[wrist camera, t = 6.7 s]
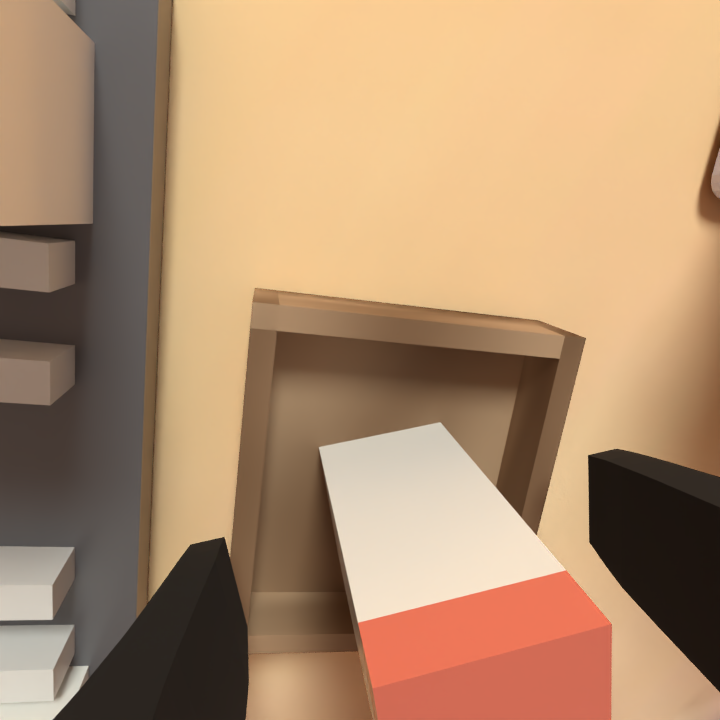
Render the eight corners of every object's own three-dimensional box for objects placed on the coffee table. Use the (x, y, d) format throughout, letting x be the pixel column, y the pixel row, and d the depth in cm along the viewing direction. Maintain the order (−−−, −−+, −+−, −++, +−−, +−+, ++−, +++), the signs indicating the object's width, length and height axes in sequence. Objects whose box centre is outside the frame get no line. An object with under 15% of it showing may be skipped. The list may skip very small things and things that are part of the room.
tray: (538, 320, 13) (585, 338, 11) (477, 591, 15) (508, 646, 13) (255, 287, 11) (252, 301, 9) (228, 592, 13) (222, 654, 11)
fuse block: (172, -13, 10) (143, -85, 7) (140, 760, 14) (116, 863, 12) (-137, -83, 9) (-282, -191, 6) (-64, 773, 13) (-133, 888, 11)
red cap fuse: (440, 422, 12) (611, 624, 6) (450, 527, 13) (611, 797, 7) (318, 446, 12) (373, 688, 6) (338, 553, 13) (402, 862, 7)
